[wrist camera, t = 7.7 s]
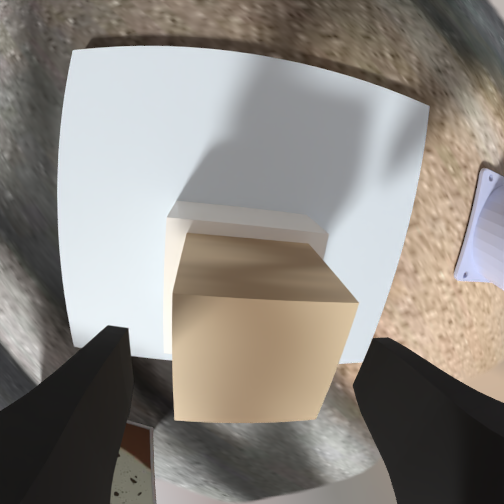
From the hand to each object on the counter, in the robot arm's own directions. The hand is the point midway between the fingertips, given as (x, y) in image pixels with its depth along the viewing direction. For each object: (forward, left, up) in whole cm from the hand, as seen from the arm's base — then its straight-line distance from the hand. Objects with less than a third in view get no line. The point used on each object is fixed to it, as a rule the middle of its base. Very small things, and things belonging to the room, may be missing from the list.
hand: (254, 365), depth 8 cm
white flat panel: (0, -2, -8) cm, 8 cm away
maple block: (0, 0, -4) cm, 4 cm away
